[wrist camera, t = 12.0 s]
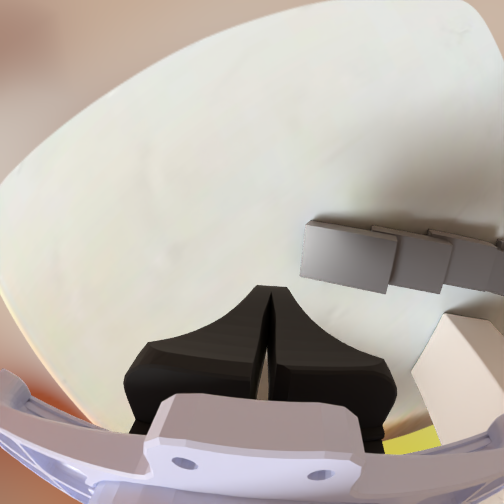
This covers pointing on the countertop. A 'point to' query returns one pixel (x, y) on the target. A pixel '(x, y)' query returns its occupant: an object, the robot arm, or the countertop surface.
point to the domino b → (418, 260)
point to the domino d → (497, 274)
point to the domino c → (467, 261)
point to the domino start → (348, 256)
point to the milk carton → (462, 379)
